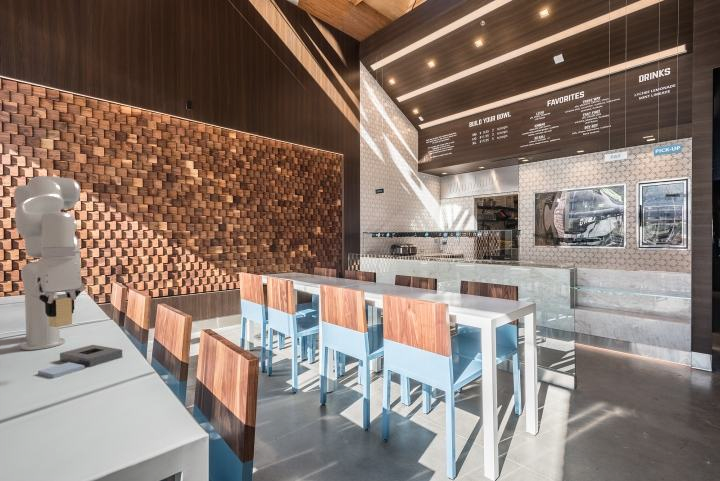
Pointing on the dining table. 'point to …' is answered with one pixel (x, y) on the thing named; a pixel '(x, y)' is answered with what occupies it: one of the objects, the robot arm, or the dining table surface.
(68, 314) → the brass block
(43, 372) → the mat
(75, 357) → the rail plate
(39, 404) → the dining table surface
